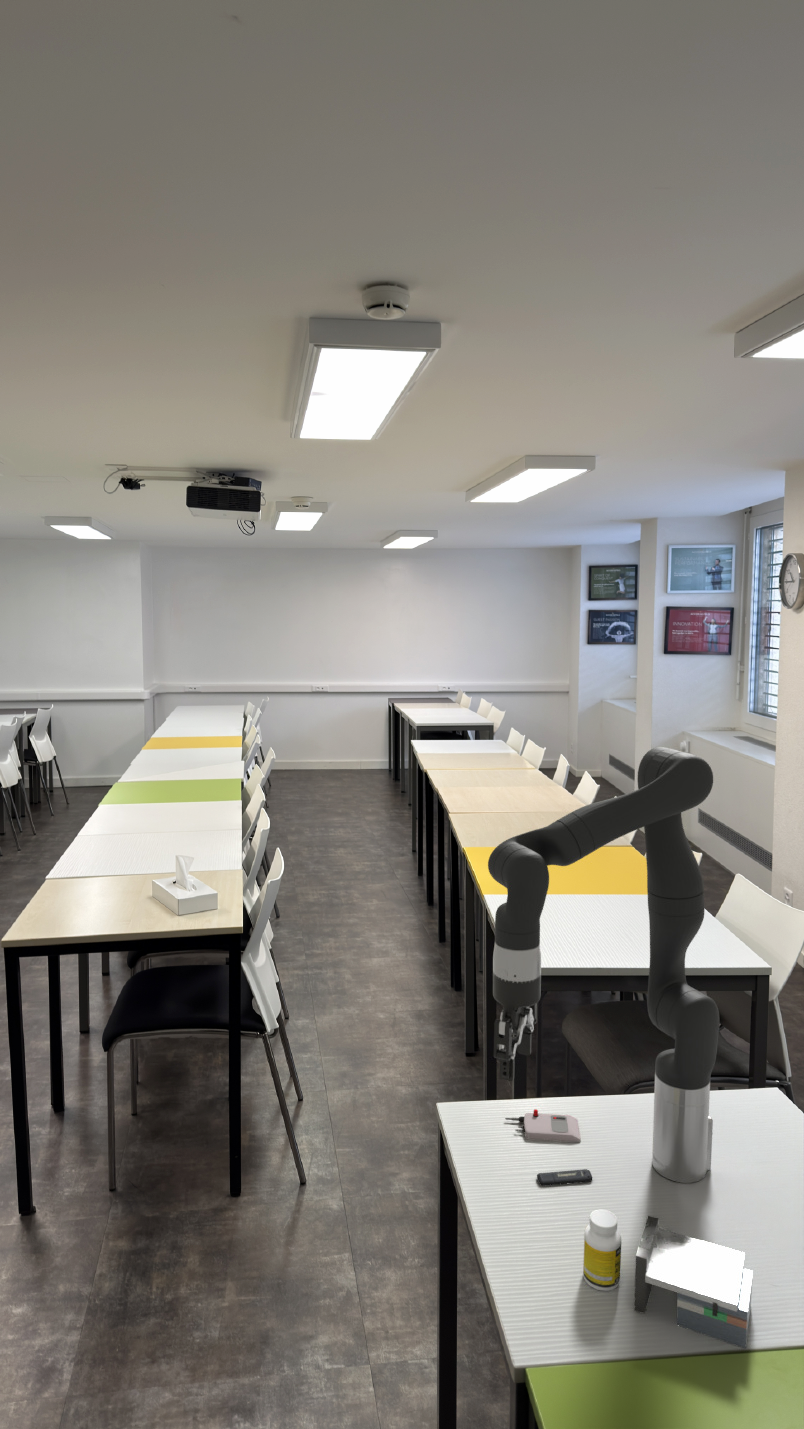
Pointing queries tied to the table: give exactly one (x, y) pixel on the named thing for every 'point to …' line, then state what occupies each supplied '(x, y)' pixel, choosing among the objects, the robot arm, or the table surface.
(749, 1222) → the table surface
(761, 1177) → the table surface
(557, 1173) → the usb stick
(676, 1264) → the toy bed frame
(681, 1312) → the gauge housing
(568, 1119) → the electrical tester
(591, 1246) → the supplement bottle
